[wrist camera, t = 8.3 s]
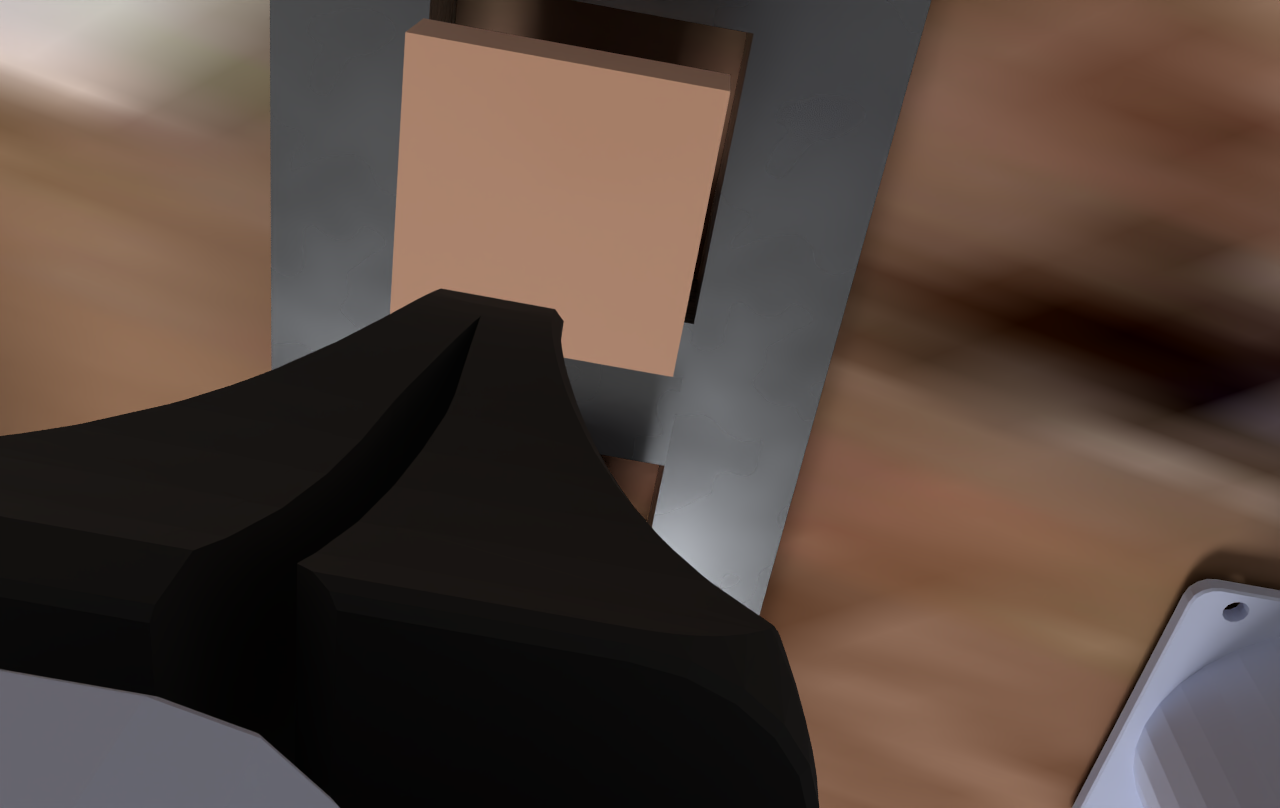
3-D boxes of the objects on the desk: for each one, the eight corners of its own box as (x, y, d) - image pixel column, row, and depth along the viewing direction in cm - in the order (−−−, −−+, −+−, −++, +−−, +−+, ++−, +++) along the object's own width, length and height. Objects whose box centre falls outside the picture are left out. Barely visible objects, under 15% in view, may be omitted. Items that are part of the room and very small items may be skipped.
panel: (940, -125, 18) (963, -114, 16) (661, 911, 30) (657, 980, 29) (315, -240, 17) (268, -244, 16) (300, 849, 30) (273, 914, 28)
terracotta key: (730, 40, 18) (730, 91, 15) (681, 288, 20) (673, 376, 17) (460, -10, 18) (404, 31, 15) (440, 245, 20) (389, 326, 17)
